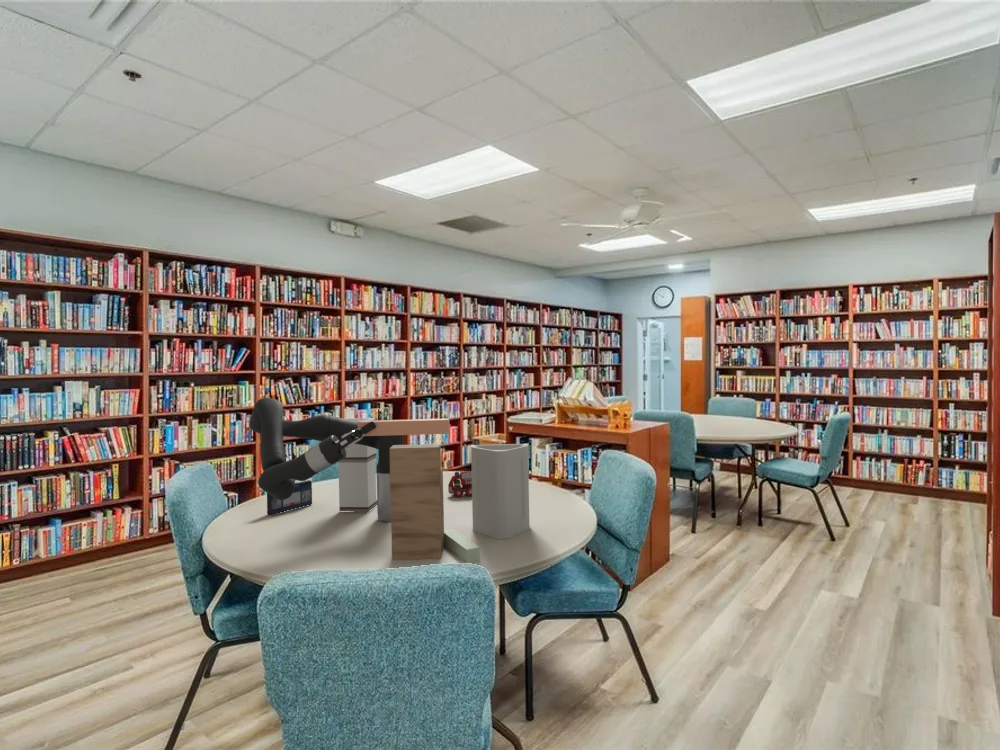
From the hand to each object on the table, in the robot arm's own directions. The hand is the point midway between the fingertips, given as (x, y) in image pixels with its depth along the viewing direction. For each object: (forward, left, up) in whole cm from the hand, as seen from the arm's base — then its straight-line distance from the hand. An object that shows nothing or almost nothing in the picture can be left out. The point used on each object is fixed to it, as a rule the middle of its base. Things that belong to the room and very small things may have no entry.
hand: (376, 423), depth 156 cm
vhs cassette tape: (-56, -46, -39) cm, 82 cm away
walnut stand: (-3, +11, -39) cm, 41 cm away
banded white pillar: (-55, -19, -39) cm, 70 cm away
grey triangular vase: (-20, +36, -39) cm, 57 cm away
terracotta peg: (0, +8, -3) cm, 9 cm away
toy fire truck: (-73, +21, -39) cm, 86 cm away
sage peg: (-3, +23, -39) cm, 46 cm away
